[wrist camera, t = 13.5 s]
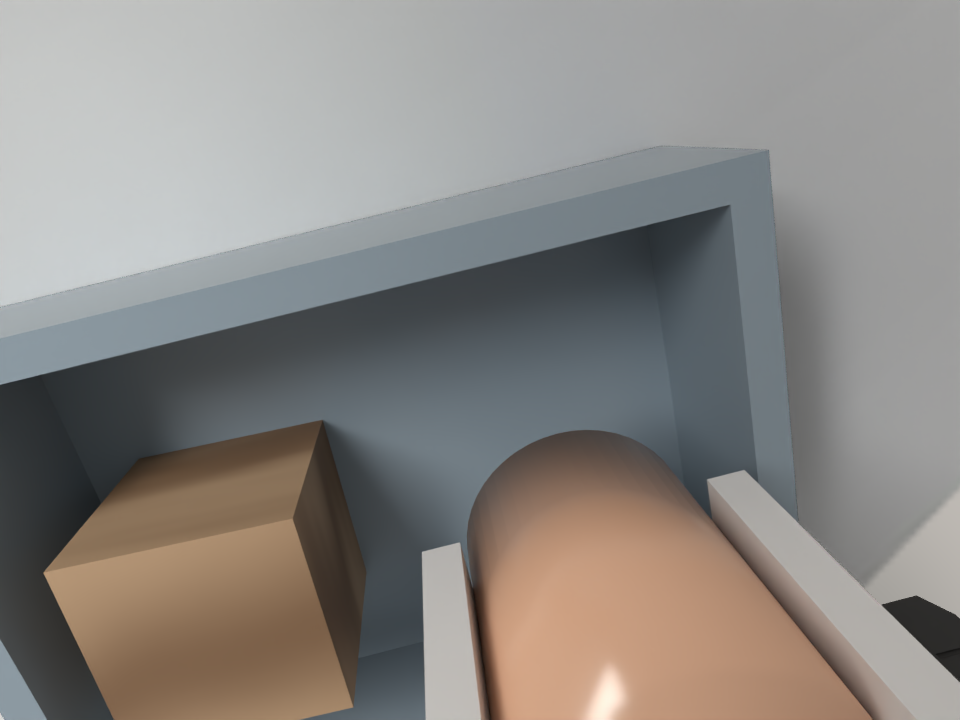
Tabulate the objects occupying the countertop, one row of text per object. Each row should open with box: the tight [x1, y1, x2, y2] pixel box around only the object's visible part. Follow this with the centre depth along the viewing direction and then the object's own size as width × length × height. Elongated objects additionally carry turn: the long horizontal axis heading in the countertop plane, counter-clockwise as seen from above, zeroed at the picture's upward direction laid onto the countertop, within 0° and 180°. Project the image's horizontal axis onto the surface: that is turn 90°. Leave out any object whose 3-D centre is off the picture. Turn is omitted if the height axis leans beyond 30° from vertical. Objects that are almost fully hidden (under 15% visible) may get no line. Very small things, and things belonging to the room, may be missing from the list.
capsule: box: [467, 430, 873, 720], centre depth 12 cm, size 5×5×7 cm
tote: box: [0, 146, 798, 720], centre depth 17 cm, size 14×18×6 cm
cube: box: [43, 420, 366, 720], centre depth 17 cm, size 5×5×5 cm
